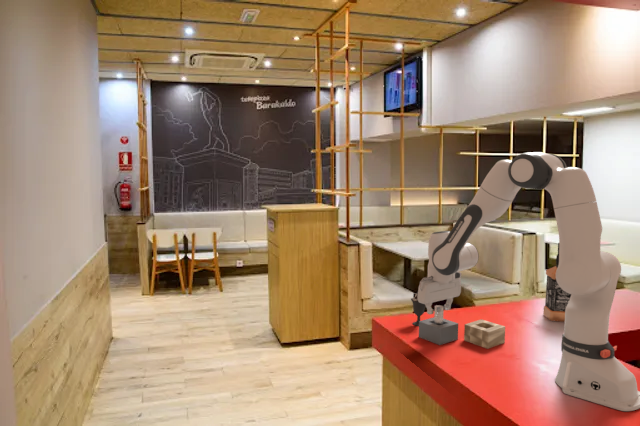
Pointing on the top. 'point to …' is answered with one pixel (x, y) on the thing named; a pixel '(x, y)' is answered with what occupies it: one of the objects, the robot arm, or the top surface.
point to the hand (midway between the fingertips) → (438, 311)
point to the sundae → (417, 308)
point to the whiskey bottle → (555, 296)
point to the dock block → (438, 331)
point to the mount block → (484, 333)
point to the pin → (438, 315)
